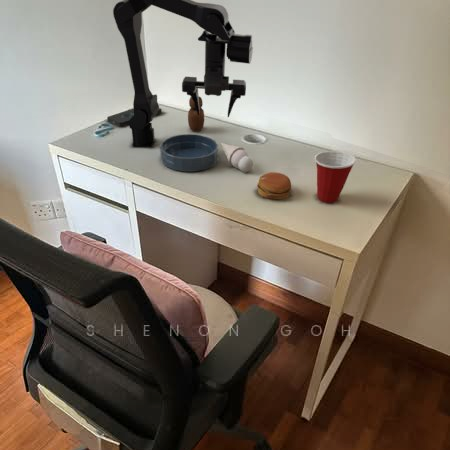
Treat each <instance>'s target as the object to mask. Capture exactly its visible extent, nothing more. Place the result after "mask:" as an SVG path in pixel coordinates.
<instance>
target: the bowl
mask: <svg viewBox="0 0 450 450" xmlns="http://www.w3.org/2000/svg"><path fill="white" fill-rule="evenodd" d="M159 149H160V151H159V152H160V160H161V162H162V164H163V165H164V166H166V167H167V168H169V169H172V170H175V171H180V172H199V171H204V170H207V169H210V168H211V167H213V166H215V165H216V164H217V163H218V159H219V158H218V157H219V156H218V155H219V145H218V143H217V141H215V139H212V138H211V137H208V136H206V135H201V134H195V133H193V134H192V133H184V134H177V135H176V134H175V135H173V136H170V137H167V138H166V139H164V140H162V142H160V146H159Z"/></svg>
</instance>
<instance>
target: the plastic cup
mask: <svg viewBox="0 0 450 450" xmlns="http://www.w3.org/2000/svg"><path fill="white" fill-rule="evenodd" d="M314 162H315V164H316V196H317V199H318V200H319V201H320V202H322V203H325V204H334V203H336V202H337V201H338V199H339V198H340V195H341V193H342V192H343V190H344V187H345V185H346V182H347V180H348V177H349V175H350V173H351V171H352V169H353V167H354V165H355V164H356V162H357V158H356V156H355V155H353V154H351V153H348V152H346V151H340V150H327V151H326V150H325V151H321V152H319V153H317V154H316V155H315V156H314Z"/></svg>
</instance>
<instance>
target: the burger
mask: <svg viewBox="0 0 450 450" xmlns="http://www.w3.org/2000/svg"><path fill="white" fill-rule="evenodd" d="M291 189H292V181H291V179H290V178H289V176H288V175H287V174H284V173H281V172H276V171H275V172H274V171H269V172H266V173H264V174H263V175H260V176H259V179H258V182H257V189H256V190H257V194H258V195H259V196H261V197H262V198H264V199H275V200H283V199H287V198H289V196H290V195H291V192H292V191H291Z"/></svg>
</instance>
